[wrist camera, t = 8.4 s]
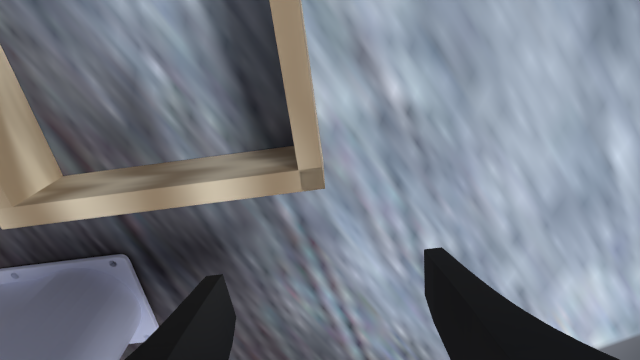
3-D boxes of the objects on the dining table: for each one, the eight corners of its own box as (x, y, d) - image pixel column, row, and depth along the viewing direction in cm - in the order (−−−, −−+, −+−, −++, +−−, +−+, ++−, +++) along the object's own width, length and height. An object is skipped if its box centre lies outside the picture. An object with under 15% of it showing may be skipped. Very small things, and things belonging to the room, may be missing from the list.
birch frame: (53, 195, 22) (2, 229, 19) (-57, -23, 17) (-156, -34, 14) (323, 160, 22) (325, 188, 18) (290, -77, 17) (284, -104, 13)
